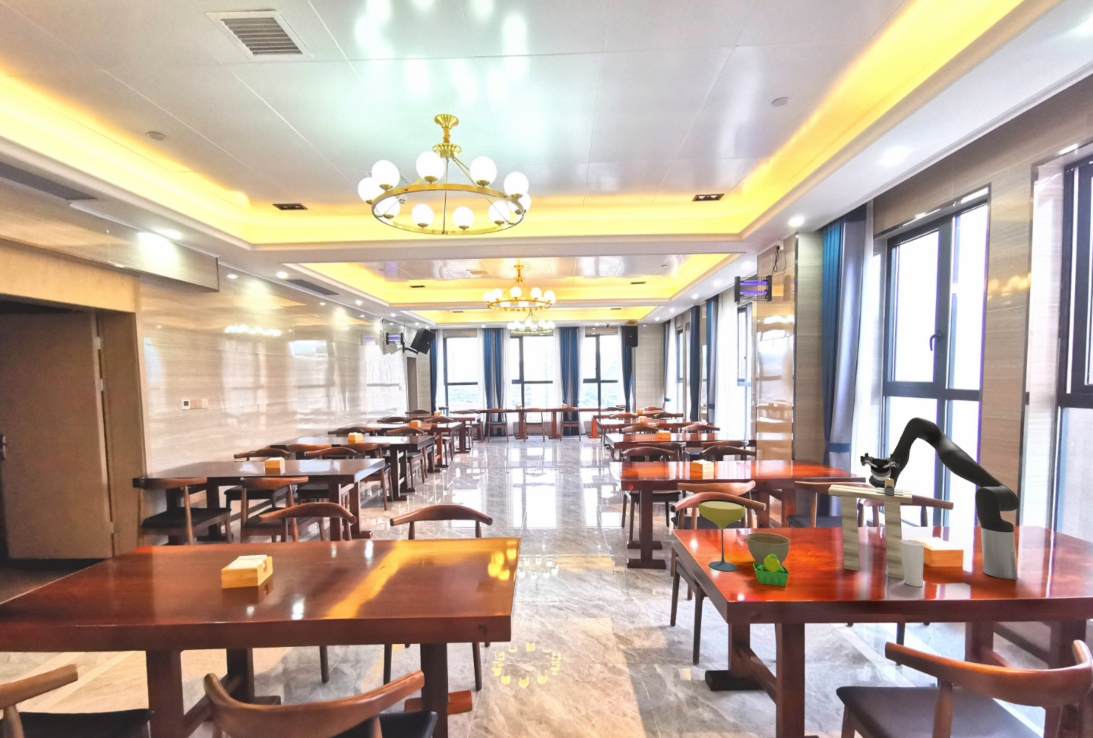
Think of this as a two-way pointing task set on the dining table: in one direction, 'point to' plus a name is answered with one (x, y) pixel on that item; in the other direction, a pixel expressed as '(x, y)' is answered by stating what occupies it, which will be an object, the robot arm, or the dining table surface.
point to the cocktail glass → (722, 522)
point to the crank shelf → (891, 524)
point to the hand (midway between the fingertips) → (879, 455)
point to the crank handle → (889, 486)
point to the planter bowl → (767, 546)
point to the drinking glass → (912, 562)
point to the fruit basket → (771, 571)
